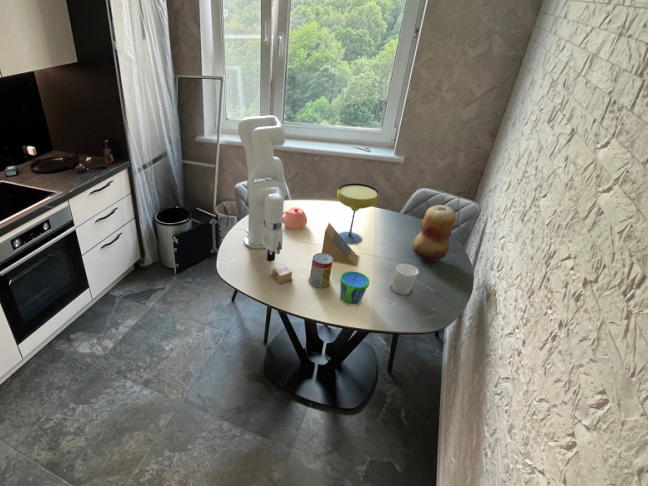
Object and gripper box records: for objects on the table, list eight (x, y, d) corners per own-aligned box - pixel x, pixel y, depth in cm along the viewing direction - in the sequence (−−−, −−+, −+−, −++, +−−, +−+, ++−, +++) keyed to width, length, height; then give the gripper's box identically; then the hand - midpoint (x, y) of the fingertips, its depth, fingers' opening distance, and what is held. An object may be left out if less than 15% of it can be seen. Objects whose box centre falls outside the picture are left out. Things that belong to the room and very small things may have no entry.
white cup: (402, 298, 157) (409, 277, 151) (386, 287, 163) (391, 267, 157) (416, 291, 160) (423, 271, 154) (399, 281, 166) (405, 261, 160)
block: (271, 276, 173) (272, 268, 171) (283, 272, 175) (283, 264, 173) (279, 283, 169) (280, 275, 166) (291, 279, 171) (292, 271, 168)
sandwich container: (355, 266, 176) (362, 236, 168) (320, 259, 182) (325, 230, 174) (358, 256, 183) (364, 227, 174) (324, 249, 189) (328, 221, 180)
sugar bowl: (308, 231, 204) (311, 213, 198) (281, 232, 204) (282, 214, 198) (303, 219, 214) (305, 202, 208) (277, 220, 214) (278, 203, 209)
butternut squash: (405, 259, 179) (419, 208, 165) (415, 246, 187) (430, 197, 173) (438, 270, 171) (457, 218, 157) (448, 256, 179) (466, 206, 165)
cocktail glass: (371, 233, 199) (382, 186, 185) (365, 251, 186) (377, 202, 172) (334, 226, 206) (341, 181, 192) (326, 243, 193) (334, 195, 179)
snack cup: (355, 315, 150) (360, 294, 144) (329, 304, 156) (333, 283, 150) (371, 294, 160) (376, 274, 154) (345, 285, 166) (349, 264, 160)
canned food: (331, 279, 169) (335, 255, 162) (325, 289, 164) (329, 265, 157) (313, 274, 173) (316, 251, 166) (306, 284, 167) (310, 260, 161)
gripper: (255, 218, 170) (254, 255, 180) (275, 233, 159) (273, 271, 169) (270, 214, 173) (268, 250, 183) (291, 228, 161) (287, 266, 171)
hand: (270, 260), depth 176 cm, fingers closed
